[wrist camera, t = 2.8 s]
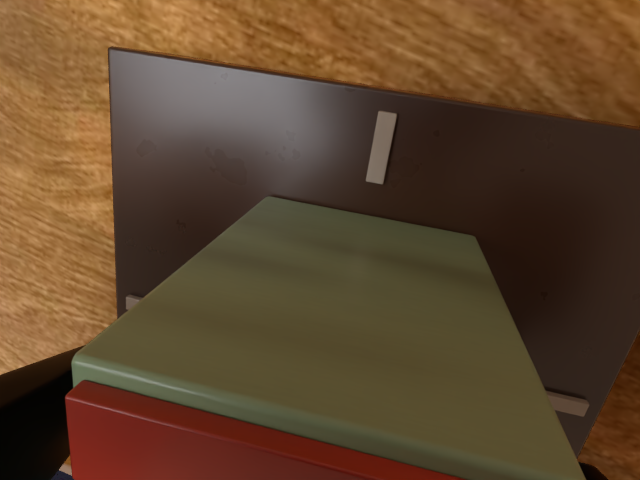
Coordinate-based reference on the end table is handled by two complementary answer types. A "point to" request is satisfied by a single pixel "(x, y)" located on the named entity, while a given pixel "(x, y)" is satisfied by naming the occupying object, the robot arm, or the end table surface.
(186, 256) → the plate
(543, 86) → the end table surface
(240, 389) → the box
